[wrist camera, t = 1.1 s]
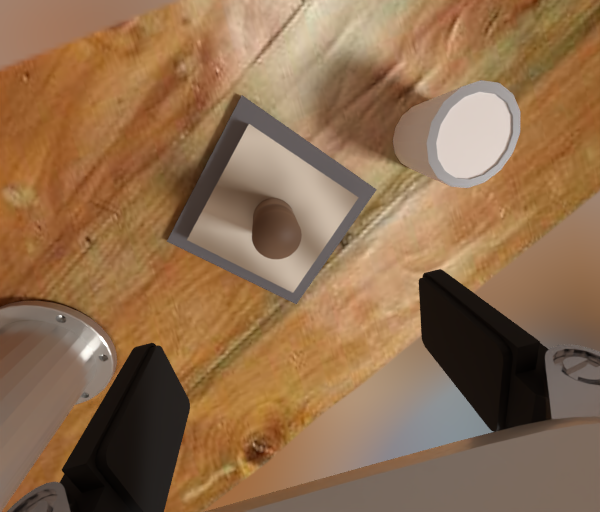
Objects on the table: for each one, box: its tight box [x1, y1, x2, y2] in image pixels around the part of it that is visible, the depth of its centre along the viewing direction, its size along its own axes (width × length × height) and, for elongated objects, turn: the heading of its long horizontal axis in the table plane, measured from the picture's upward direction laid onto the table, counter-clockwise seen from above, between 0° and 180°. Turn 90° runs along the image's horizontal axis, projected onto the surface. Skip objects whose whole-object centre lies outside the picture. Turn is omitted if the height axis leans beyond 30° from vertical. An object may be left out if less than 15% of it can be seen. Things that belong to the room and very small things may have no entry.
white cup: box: [393, 80, 520, 188], centre depth 23 cm, size 7×7×7 cm
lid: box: [187, 124, 359, 293], centre depth 24 cm, size 11×11×6 cm
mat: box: [167, 96, 376, 304], centre depth 27 cm, size 14×14×1 cm
